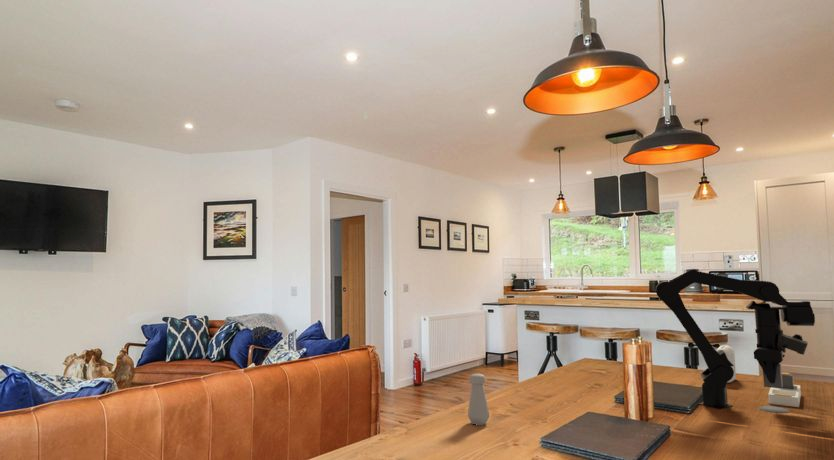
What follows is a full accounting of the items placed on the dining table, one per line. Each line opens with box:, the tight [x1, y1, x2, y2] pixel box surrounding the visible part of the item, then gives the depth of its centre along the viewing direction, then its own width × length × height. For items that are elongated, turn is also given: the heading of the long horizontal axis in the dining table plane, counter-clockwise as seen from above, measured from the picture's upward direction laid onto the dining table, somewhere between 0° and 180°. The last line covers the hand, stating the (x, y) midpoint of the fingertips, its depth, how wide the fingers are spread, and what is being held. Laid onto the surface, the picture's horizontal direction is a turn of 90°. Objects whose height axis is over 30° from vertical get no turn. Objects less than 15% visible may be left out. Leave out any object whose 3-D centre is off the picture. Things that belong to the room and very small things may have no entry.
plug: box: [762, 363, 783, 389], centre depth 138 cm, size 4×4×6 cm
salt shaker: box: [467, 373, 490, 426], centre depth 134 cm, size 6×6×13 cm
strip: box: [767, 371, 802, 408], centre depth 155 cm, size 33×7×7 cm, turn 141°
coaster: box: [758, 405, 791, 414], centre depth 138 cm, size 7×7×1 cm
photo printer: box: [715, 344, 737, 384], centre depth 175 cm, size 10×4×12 cm, turn 134°
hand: (772, 381), depth 138 cm, fingers closed on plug, 4 cm apart
